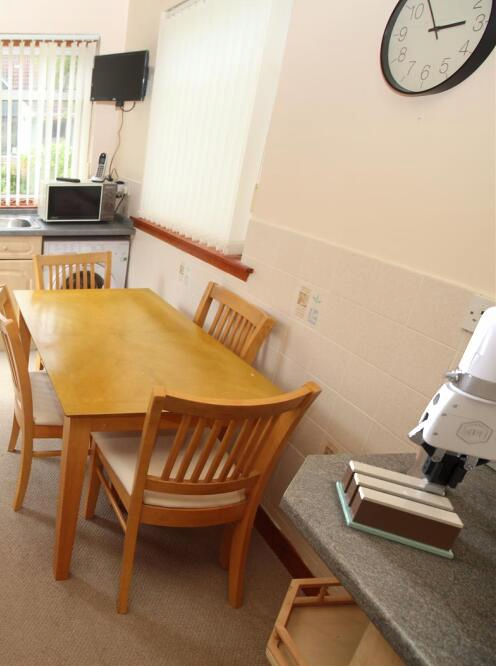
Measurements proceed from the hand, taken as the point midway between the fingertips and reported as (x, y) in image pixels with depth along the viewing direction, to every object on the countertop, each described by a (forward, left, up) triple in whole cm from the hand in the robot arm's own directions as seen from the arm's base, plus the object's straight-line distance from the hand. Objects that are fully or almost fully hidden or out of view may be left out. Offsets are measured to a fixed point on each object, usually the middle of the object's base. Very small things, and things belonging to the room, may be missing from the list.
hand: (438, 480), depth 80 cm
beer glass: (-4, -14, -9) cm, 17 cm away
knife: (0, 0, -8) cm, 8 cm away
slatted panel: (+5, +2, -9) cm, 10 cm away
